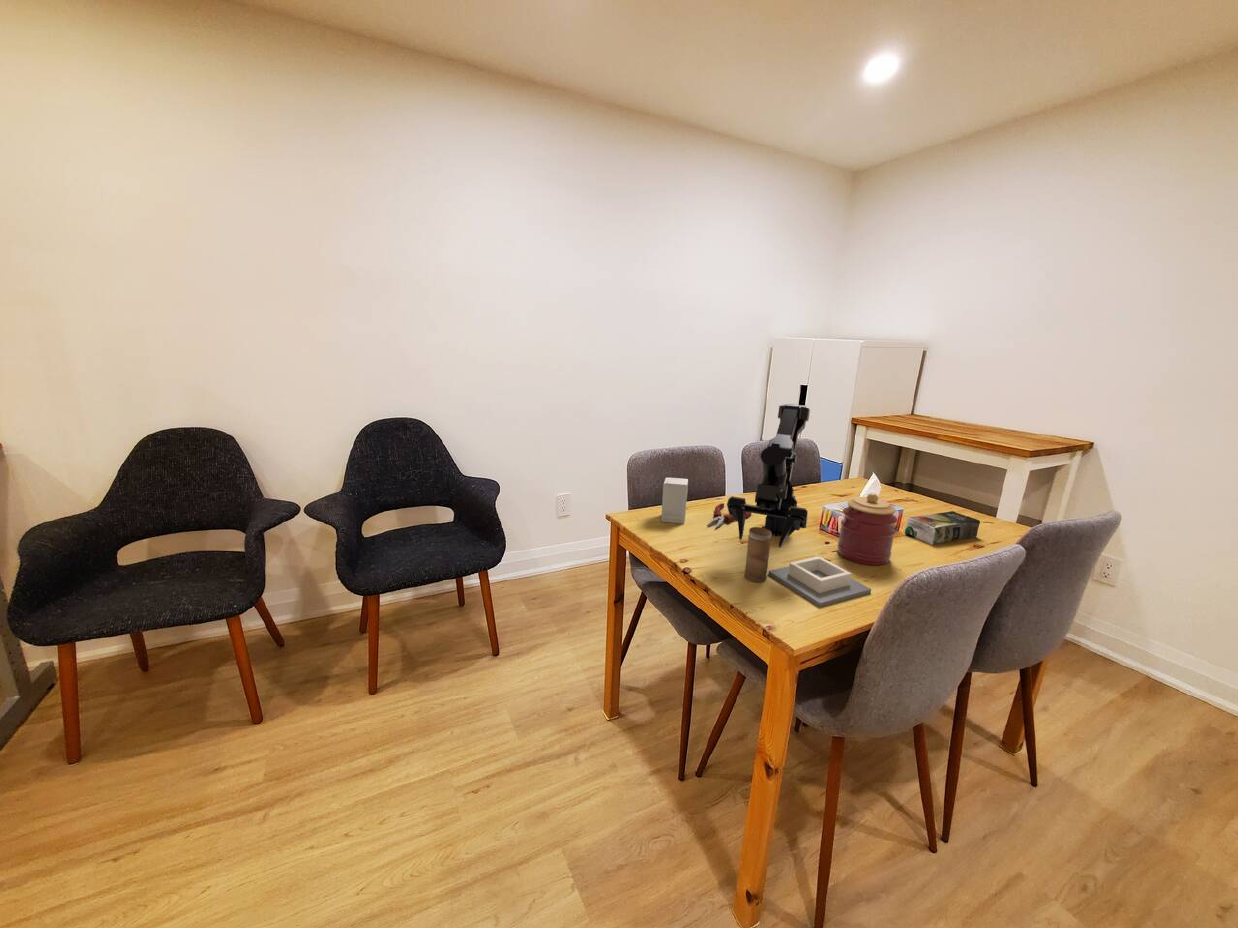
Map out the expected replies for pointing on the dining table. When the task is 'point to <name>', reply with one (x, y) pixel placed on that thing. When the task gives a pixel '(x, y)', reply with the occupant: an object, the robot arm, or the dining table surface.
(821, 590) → the docking plate
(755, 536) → the brown upright cylinder
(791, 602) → the dining table surface
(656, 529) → the dining table surface
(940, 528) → the juice carton
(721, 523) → the pliers
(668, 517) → the supplement box
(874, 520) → the canister
